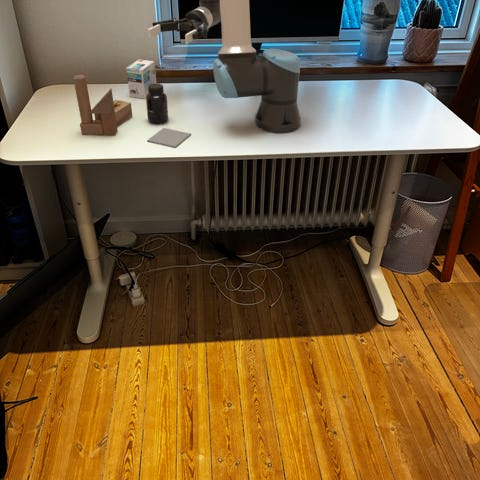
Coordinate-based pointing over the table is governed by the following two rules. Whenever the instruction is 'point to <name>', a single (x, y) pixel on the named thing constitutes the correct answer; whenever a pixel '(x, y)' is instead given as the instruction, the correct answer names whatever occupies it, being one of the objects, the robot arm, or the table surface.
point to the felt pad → (169, 137)
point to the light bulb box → (140, 77)
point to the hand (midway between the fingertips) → (167, 36)
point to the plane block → (120, 112)
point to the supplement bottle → (156, 104)
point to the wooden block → (95, 110)
